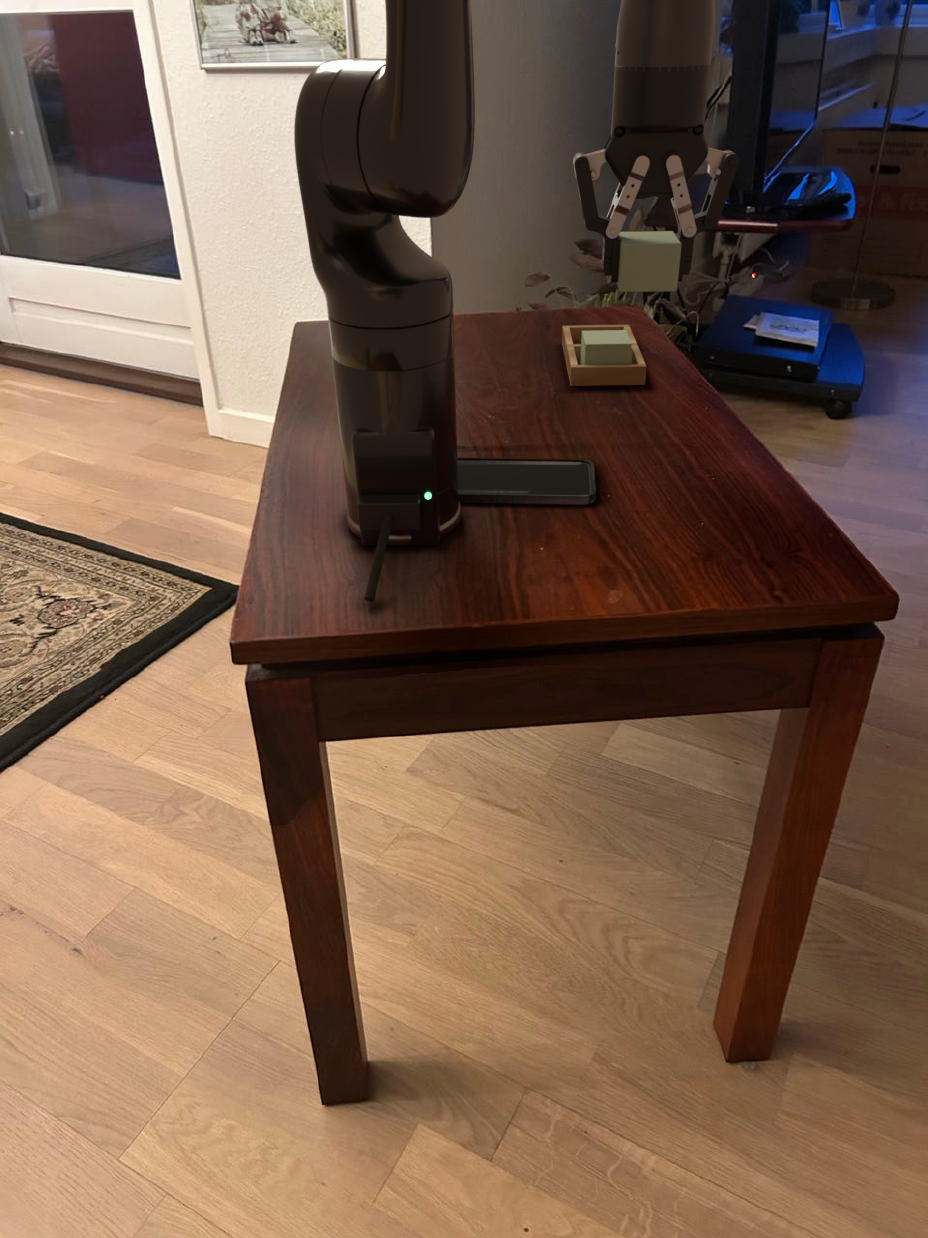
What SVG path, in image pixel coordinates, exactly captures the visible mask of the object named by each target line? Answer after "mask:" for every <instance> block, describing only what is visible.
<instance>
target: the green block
mask: <svg viewBox="0 0 928 1238" xmlns="http://www.w3.org/2000/svg"><path fill="white" fill-rule="evenodd" d="M675 234H676V233H675V232H674V231H673V230H663V231H662V230H659V231H658V230H657V231H655V230H654V231H652V230H651V231H650V230H649V231H620V234H619V236H620V238H621V246H620V261H619V276H618V283H615V284H616V286H617V289H618V292H619V293H655V292H656V293H657V292H658V293H659V292H660V293H661V292H677V291H678V283H679V282H678V275H679V265H680V255H681V245H682V244H681V242H680V241H679V240H678V238H677V237H676V235H675Z"/></svg>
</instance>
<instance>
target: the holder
mask: <svg viewBox="0 0 928 1238" xmlns="http://www.w3.org/2000/svg"><path fill="white" fill-rule="evenodd" d="M597 330H626V331H627V333H628V336H629V338H630V341H631V343H632V347H631V360H630V364H618V365H580V360H581V338H582V331H597ZM561 346H562V349H563V356H564V360H565V364H566V369H567V374H568V380H569V385H570V387H571V386H572V387H575V386H577V387H579V386H580V387H583V386H585V387H586V386H645V385H646V379H647V378H646V377H647V364H646V362H645V359H644V357H643V355H642V352H641V350H640V348H639V344H638V343H637V340H636V337H635V335H634V333H633V331H632V328H631V325H630V324H590V325H589V324H585V325H583V324H582V325H562V329H561Z"/></svg>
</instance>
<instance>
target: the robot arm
mask: <svg viewBox="0 0 928 1238" xmlns="http://www.w3.org/2000/svg"><path fill="white" fill-rule="evenodd" d="M715 2H716V1H715V0H621V2H620V7H619V12H618V13H619V14H618V19H617V27H616V38H615V39H616V40H615V45H614V49H613V55H614V72H613V73H614V74H613V75H614V76H613V91H612V92H613V93H612V108H611V109H612V110H611V111H612V112H611V113H612V114H611V125H610V126H611V128H610V134H609V137H608V139H607V141H606V143H605V145H604V148H603V149H599V150H596V151H593V152H588V153H583V152H577V153H576V154H575V155H574V156H573V158H572V165H573V170H574V177H575V180H576V186H577V191H578V197H579V202H580V209H581V213H582V219H583V223H584V226H585V228H586V230H588V231H589V232H595V233H598V234H599V235H601V236H602V239H603V240H602V257H601V268H602V272H603V274H604V277H608V281H609V283H613V284H616V283H618V276H619V261H620V246H621V238H620V236H619V234H620V232H622V229H623V227H624V224H625V221H626V219H627V217H628V215H629V213H630V211H631V209H632V207H633V205H634V202H635V200H645V199H649V198H652V197H654V198H659V199H662V200H665V199H668V200H669V199H670V202H671V205H672V208H673V212H674V215H675V219H676V223H677V233H674V234H675V235H676V237H677V238H678V240H679V241H680V242H681V244H682V245H681V255H680V265H679V275H678V283H682V282H683V278H684V276H688V275H689V273H690V271H691V269H692V260H693V253H694V252H693V251H694V242H695V238H696V237H697V235H698V234H699V233H702V232H704V231H707V230H714V229H716V228H717V227H718V225H719V222H720V221H721V220H720V219H721V217H722V215H723V210H724V208H725V205H726V203H727V199H728V196H729V193H730V190H731V187H732V184H733V182H734V178H735V176H736V173H737V170H738V167H739V164H740V158H739V155H738V154H736V153H735V152H734V151H732V150H730V149H725V150H720V149H716V148H712V147H709V145H708V143H707V140H706V137H705V123H706V114H707V104H708V94H709V84H710V77H711V67H712V66H711V65H712V57H713V45H714V39H715V38H714V37H715V26H716V14H715V13H716V10H715V8H716V6H715V5H716V4H715ZM384 5H385V41H386V43H385V44H386V45H385V46H386V47H385V49H386V50H385V58H375V57H374V58H371V57H370V58H367V57H357V58H356V57H355V58H354V57H348V58H347V57H346V58H335V59H330V60H325V61H324V62H322V63H320V64H319V65H317V66H316V67H315V68H314V69H312V70H311V72H310V73H309V74H308V76H307V77H306V79H305V81H303V84H302V86H301V89H300V92H299V95H298V99H297V101H296V102H297V103H296V107H295V108H296V109H295V115H294V127H293V129H294V130H293V131H294V132H293V133H294V137H293V139H294V143H293V144H294V156H295V164H296V165H295V166H296V173H297V180H298V186H299V192H300V198H301V205H302V211H303V216H304V222H305V223H304V224H305V230H306V235H307V243H308V250H309V256H310V262H311V265H312V269H313V273H314V275H315V277H316V280H317V282H318V284H319V285H320V288H321V289H322V292H323V294H324V297H325V302H326V310H327V320H328V330H329V331H328V332H329V340H330V349H331V361H332V371H333V372H332V373H333V381H334V390H335V392H334V393H335V400H336V401H335V402H336V410H337V420H338V430H339V439H340V440H339V441H340V449H341V450H340V451H341V459H342V460H341V461H342V469H343V478H344V487H345V496H346V505H347V507H346V519H347V525H348V528H349V530H350V531H351V532H352V533H353V534H354V535H355V536H357V537H358V538H359V539H360V543H361V546H363V547H376V548H375V552H374V556H373V560H372V564H371V568H370V572H369V577H368V580H367V586H366V589H365V590H366V591H365V594H364V601H366V602H368V603H374V602H375V599H376V595H377V590H378V586H379V581H380V576H381V573H382V569H383V564H384V559H385V555H386V551H387V547H388V546H390V547H391V546H396V547H397V546H398V547H401V546H402V547H403V546H438V545H439V544H440V540H441V539H442V538H443V537H445V536H447V535H448V534H450V533H451V532H453V531H454V530H455V529H456V528H457V527H458V525H459V524H460V522H461V518H462V517H461V503H460V502H459V488H458V460H457V457H458V432H457V431H458V429H457V427H458V426H457V397H456V396H457V395H456V394H457V393H456V392H457V391H456V368H455V367H456V364H455V363H456V362H455V361H456V360H455V321H454V320H455V319H454V289H453V288H454V287H453V280H452V279H453V278H452V276H451V273H450V272H449V270H448V268H447V267H446V266H445V265H444V264H443V263H441V261H439V260H437V259H436V258H434V257H433V256H431V255H430V254H428V253H427V252H426V251H424V250H423V249H422V248H421V247H420V246H419V245H418V244H416V243H415V242H414V241H413V240H412V238H411V237H410V236H409V235H408V233H407V232H406V230H405V229H404V227H403V224H402V222H401V219H400V217H408V218H415V219H416V218H418V219H435V218H439V217H442V216H444V215H446V214H447V213H449V212H450V210H453V208H454V207H455V206H456V205H457V203H458V201H459V200H460V198H461V197H462V195H463V192H464V190H465V189H466V188H465V187H466V186H467V183H468V180H469V176H470V170H471V166H472V162H473V161H472V160H473V155H474V146H475V145H474V143H475V129H476V128H475V125H476V102H475V101H476V96H475V95H476V94H475V68H474V67H475V66H474V45H473V43H474V42H473V21H472V20H473V19H472V0H384ZM704 162H706V164H707V174H708V176H709V177H711V180H710V183H709V186H708V188H707V192H706V195H705V199H704V201H703V204H702V208H701V211H700V212H698V213H695V214H694V212H693V208H692V207H693V205H692V201H691V197H690V193H689V189H688V183H689V182H690V180H691V179H692V178H693V177H694V175H695V174H696V173H697V171H699V169H700V168H701V166H702V165H703V163H704ZM606 163H607V165H608V167H609V168H610V170H611V171H612V173H613V176H614V177H615V178H616V181H618V186H617V188H616V190H615V192H614V196H613V198H612V201H611V204H610V208H609V209H608V213H607V215H606V216H604V215H601V214H599V211H598V206H597V201H596V195H595V188H594V183H593V182H595V181H597V180H598V179H599V178H600V175H601V169H602V166H603V165H604V164H606Z"/></svg>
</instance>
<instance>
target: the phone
mask: <svg viewBox="0 0 928 1238" xmlns="http://www.w3.org/2000/svg"><path fill="white" fill-rule="evenodd" d="M457 460H458V488H459V502H460V504H461V503H462V504H515V505H516V504H519V505H521V504H523V505H525V504H526V505H590V504H593V503H594V502H595V501H596V497H597V496H596V495H597V494H596V493H597V488H596V475H595V474H596V473H595V463H593V462H592V461H591V460H589V459H584V458H583V459H581V458H530V457H529V458H527V457H526V458H525V457H524V458H521V457H517V458H516V457H462V456H461V457H458V456H457Z"/></svg>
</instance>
